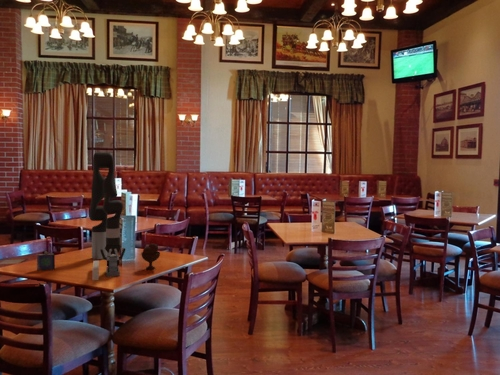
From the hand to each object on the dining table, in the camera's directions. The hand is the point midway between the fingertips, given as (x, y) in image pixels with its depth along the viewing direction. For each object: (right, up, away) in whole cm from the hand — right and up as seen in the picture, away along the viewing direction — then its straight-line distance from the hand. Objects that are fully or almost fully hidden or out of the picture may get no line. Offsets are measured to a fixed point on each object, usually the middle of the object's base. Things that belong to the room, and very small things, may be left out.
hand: (112, 266), depth 250 cm
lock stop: (0, -2, 0) cm, 2 cm away
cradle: (0, -4, 0) cm, 4 cm away
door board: (-9, -4, -3) cm, 10 cm away
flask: (-40, -3, +6) cm, 40 cm away
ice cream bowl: (+18, -4, +13) cm, 23 cm away
